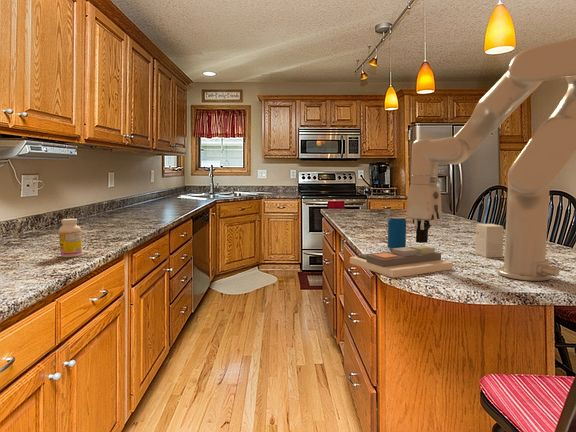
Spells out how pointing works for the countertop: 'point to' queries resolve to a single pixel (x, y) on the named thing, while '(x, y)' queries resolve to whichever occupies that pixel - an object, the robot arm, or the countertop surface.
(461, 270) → the countertop surface
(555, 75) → the robot arm
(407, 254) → the key slate
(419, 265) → the keypad
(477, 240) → the small box
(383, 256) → the key terracotta
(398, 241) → the beverage can
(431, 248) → the key sage
